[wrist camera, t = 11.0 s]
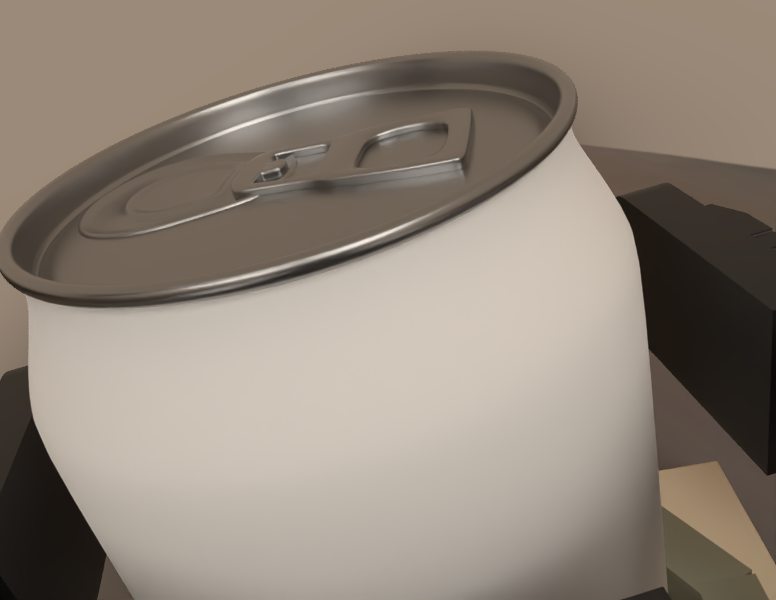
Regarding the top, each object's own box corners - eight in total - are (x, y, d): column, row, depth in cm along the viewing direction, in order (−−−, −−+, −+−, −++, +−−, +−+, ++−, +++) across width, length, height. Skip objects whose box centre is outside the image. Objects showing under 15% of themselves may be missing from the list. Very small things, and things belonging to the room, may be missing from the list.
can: (347, 624, 17) (133, 102, 11) (651, 616, 15) (593, 4, 9) (268, 1006, 11) (-250, 376, 5) (729, 1057, 10) (708, 245, 4)
